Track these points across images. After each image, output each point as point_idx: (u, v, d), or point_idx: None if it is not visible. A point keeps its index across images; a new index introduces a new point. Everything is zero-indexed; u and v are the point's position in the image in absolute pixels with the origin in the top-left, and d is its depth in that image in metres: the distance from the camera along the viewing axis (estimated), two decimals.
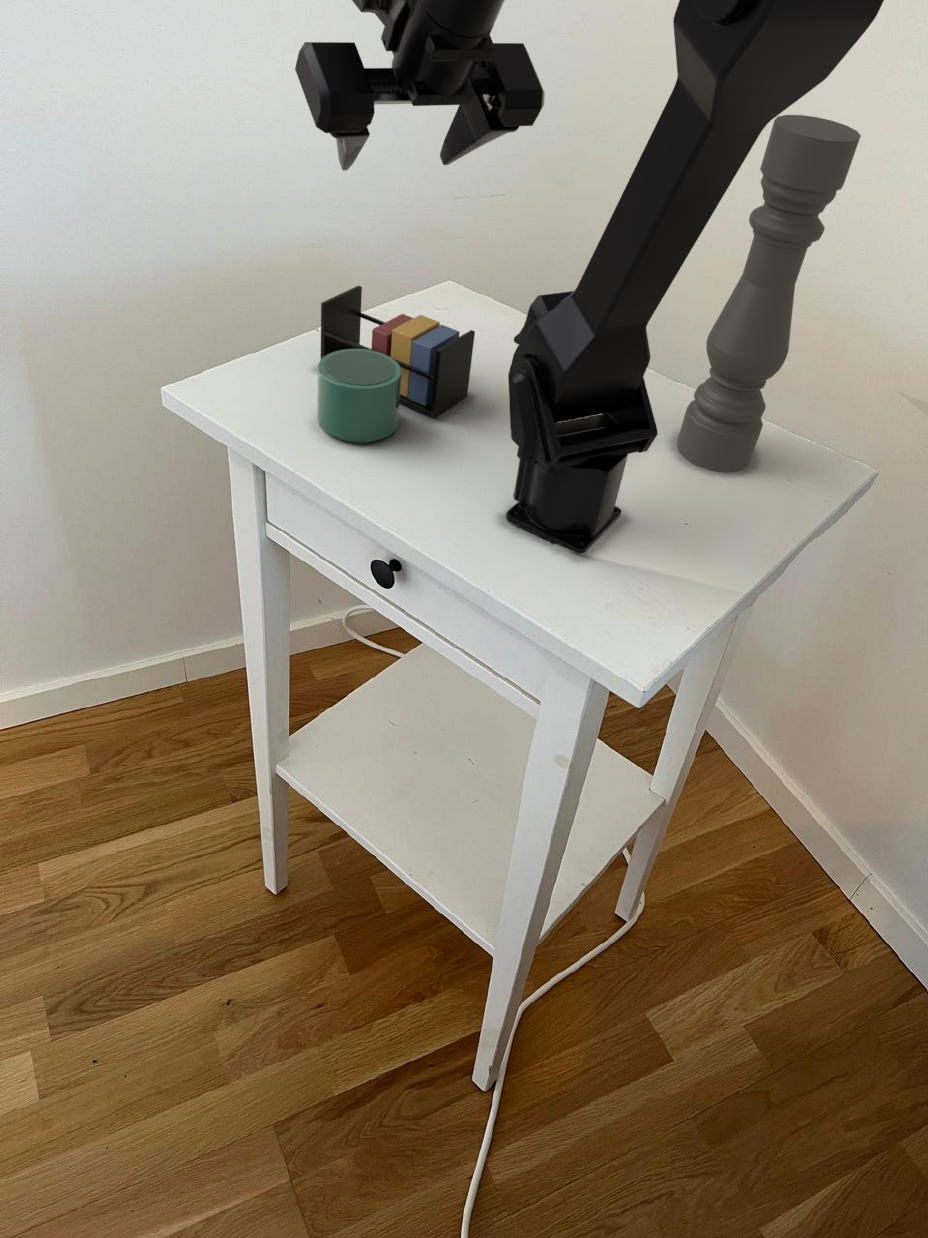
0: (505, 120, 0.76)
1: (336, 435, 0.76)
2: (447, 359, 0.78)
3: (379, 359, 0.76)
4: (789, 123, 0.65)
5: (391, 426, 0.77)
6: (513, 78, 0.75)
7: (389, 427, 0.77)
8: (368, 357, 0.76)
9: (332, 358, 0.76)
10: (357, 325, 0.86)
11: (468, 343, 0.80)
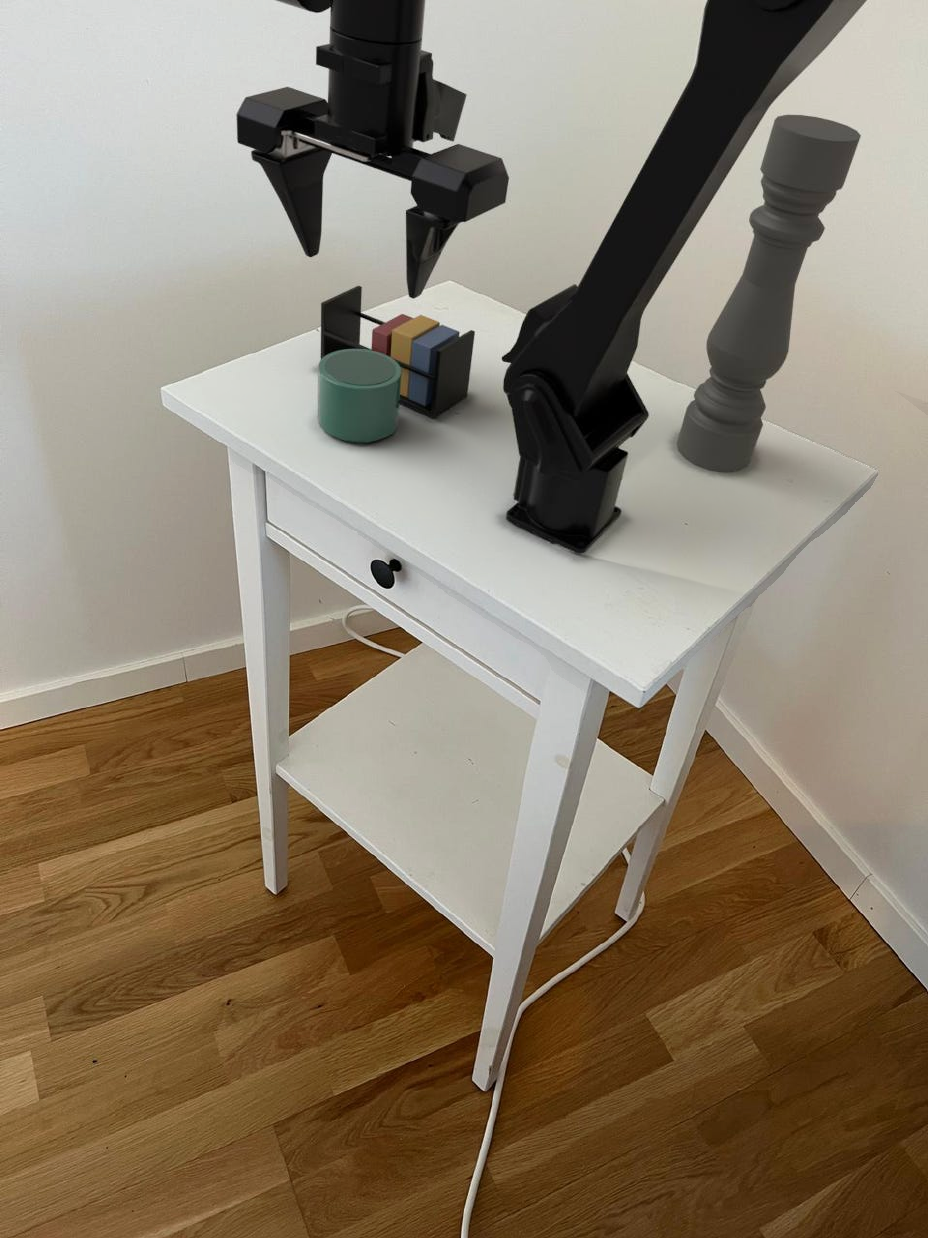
0: (417, 197, 0.62)
1: (336, 435, 0.76)
2: (447, 359, 0.78)
3: (379, 359, 0.76)
4: (789, 123, 0.65)
5: (391, 426, 0.77)
6: (445, 159, 0.61)
7: (389, 427, 0.77)
8: (368, 357, 0.76)
9: (332, 358, 0.76)
10: (357, 325, 0.86)
11: (468, 343, 0.80)
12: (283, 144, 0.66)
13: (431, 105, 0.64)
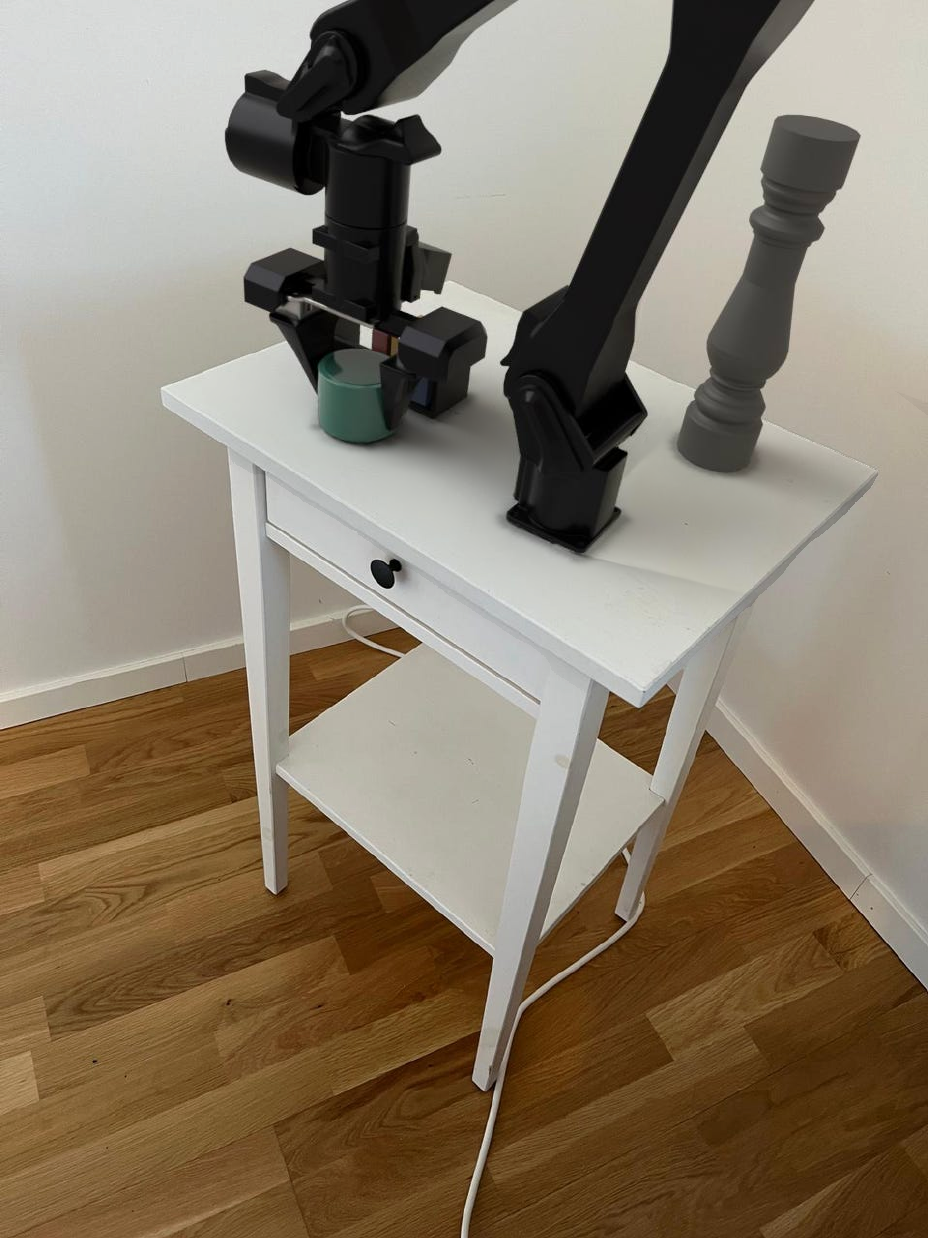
0: (403, 359, 0.68)
1: (336, 435, 0.76)
2: None
3: (379, 359, 0.76)
4: (789, 123, 0.65)
5: None
6: (428, 325, 0.68)
7: None
8: (368, 357, 0.76)
9: (332, 358, 0.76)
10: (357, 325, 0.86)
11: None
12: (297, 309, 0.73)
13: (417, 272, 0.71)
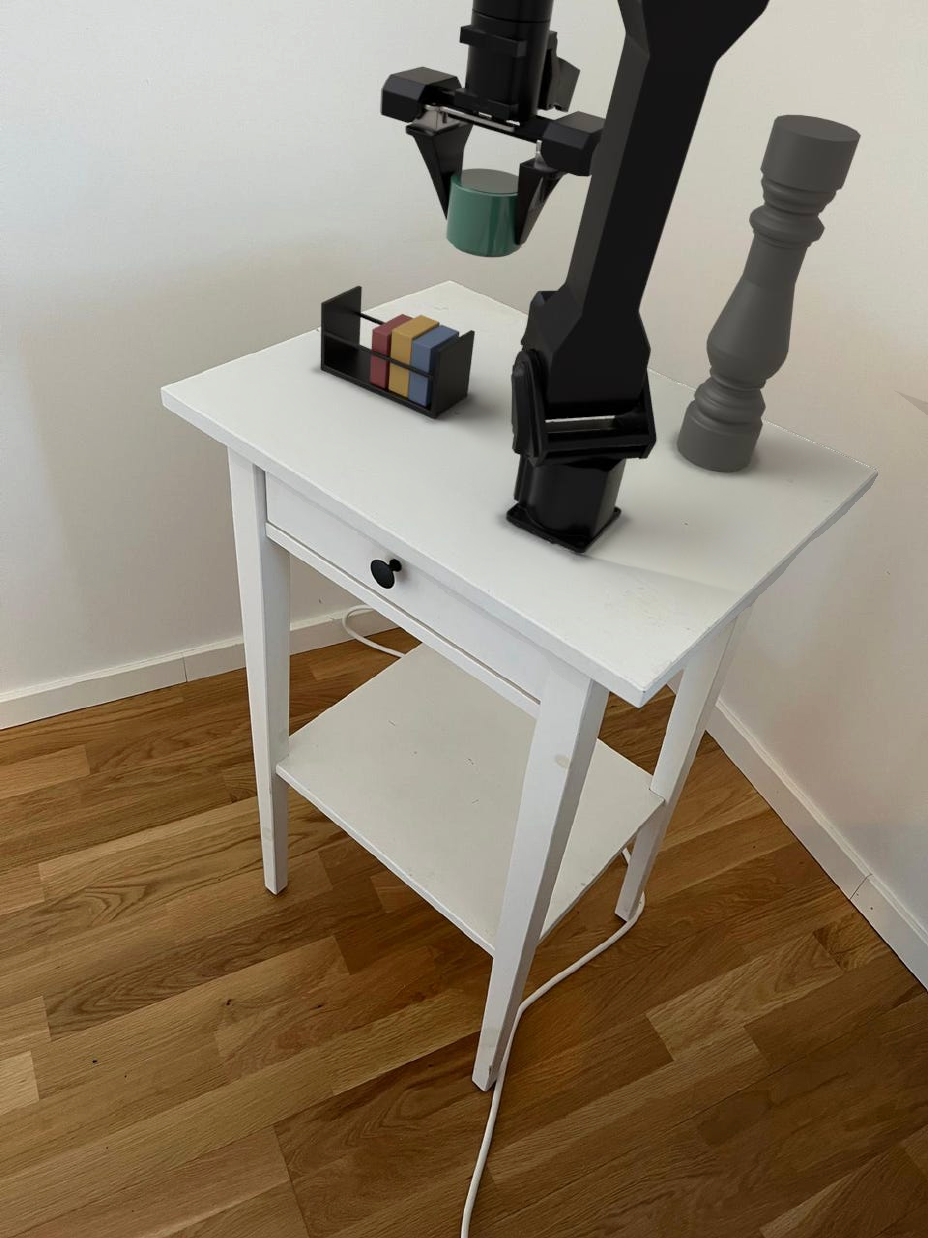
0: (546, 155, 0.71)
1: (467, 248, 0.78)
2: (447, 359, 0.78)
3: (508, 176, 0.79)
4: (789, 123, 0.65)
5: None
6: (570, 122, 0.71)
7: None
8: (497, 174, 0.79)
9: (463, 174, 0.78)
10: (357, 325, 0.86)
11: (468, 343, 0.80)
12: (435, 119, 0.75)
13: (554, 78, 0.73)
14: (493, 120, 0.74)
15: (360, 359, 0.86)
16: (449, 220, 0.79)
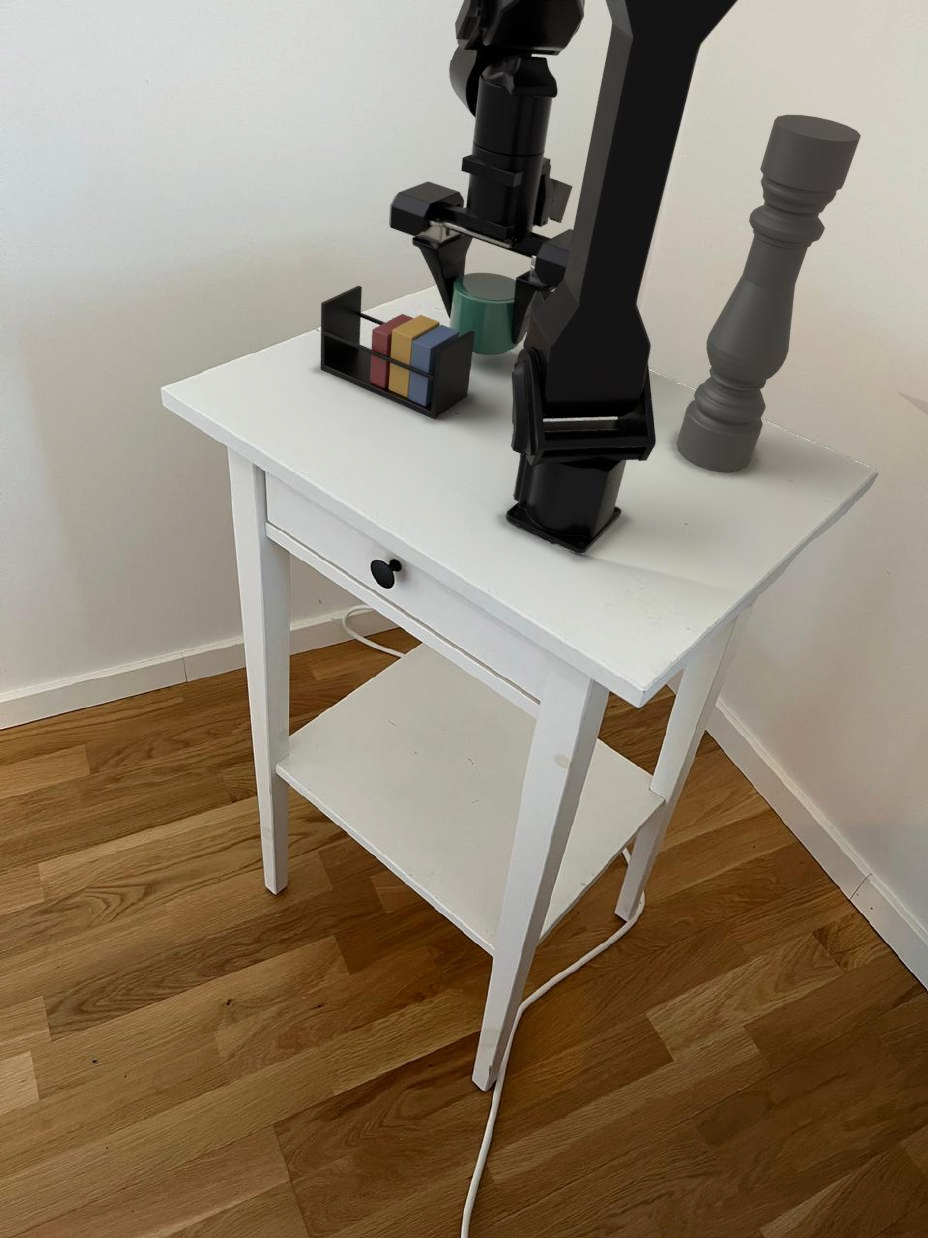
0: (539, 273, 0.78)
1: None
2: (447, 359, 0.78)
3: (506, 281, 0.86)
4: (789, 123, 0.65)
5: None
6: (562, 243, 0.78)
7: None
8: (496, 279, 0.86)
9: (465, 279, 0.86)
10: (357, 325, 0.86)
11: (468, 343, 0.80)
12: (439, 233, 0.82)
13: (548, 198, 0.80)
14: (492, 236, 0.81)
15: (360, 359, 0.86)
16: (452, 321, 0.86)
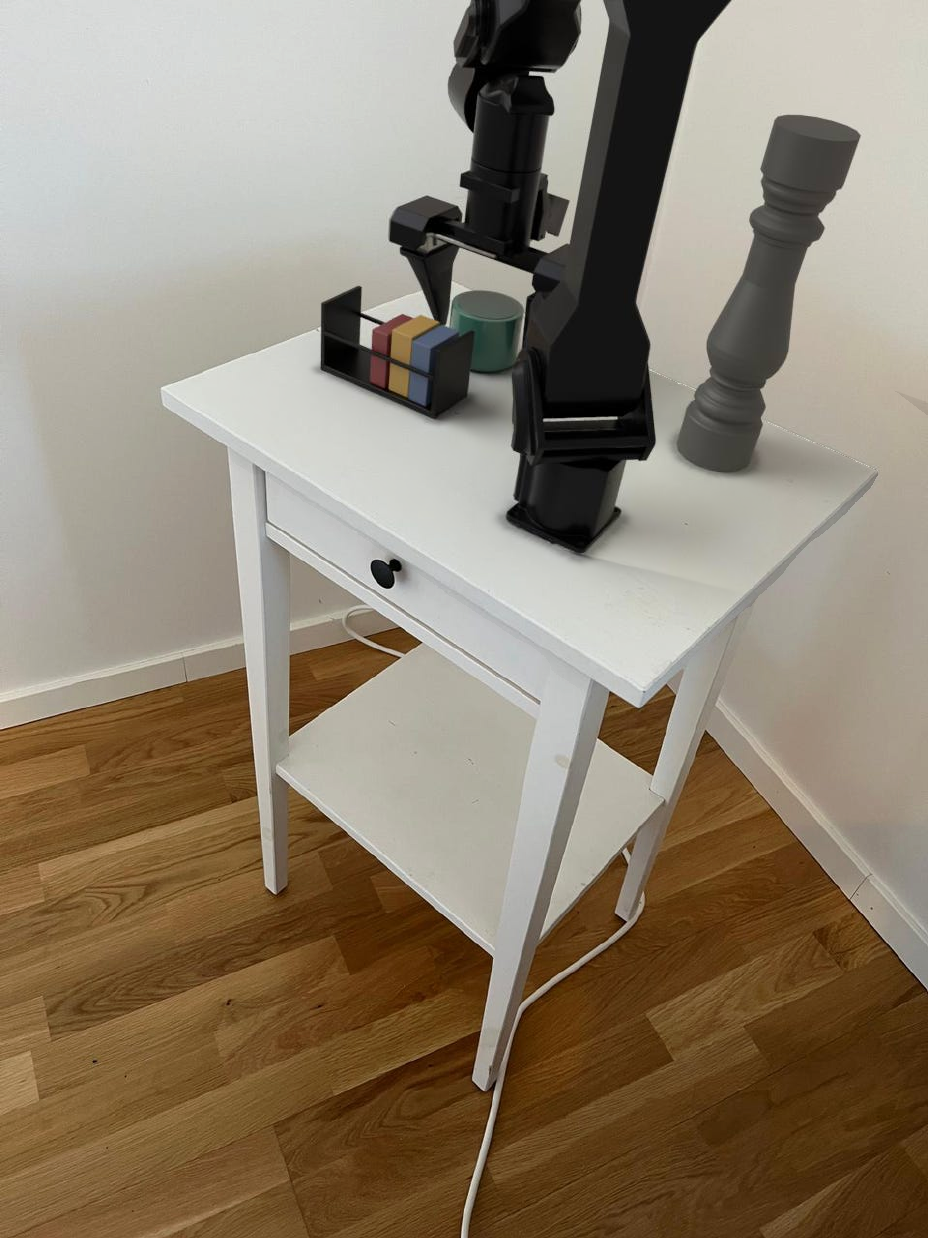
0: (537, 287, 0.79)
1: None
2: (447, 359, 0.78)
3: (503, 299, 0.87)
4: (789, 123, 0.65)
5: (513, 357, 0.88)
6: (559, 258, 0.79)
7: (511, 358, 0.87)
8: (494, 297, 0.87)
9: (463, 297, 0.87)
10: (357, 325, 0.86)
11: (468, 343, 0.80)
12: (426, 243, 0.84)
13: (545, 213, 0.81)
14: (490, 251, 0.82)
15: (360, 359, 0.86)
16: None
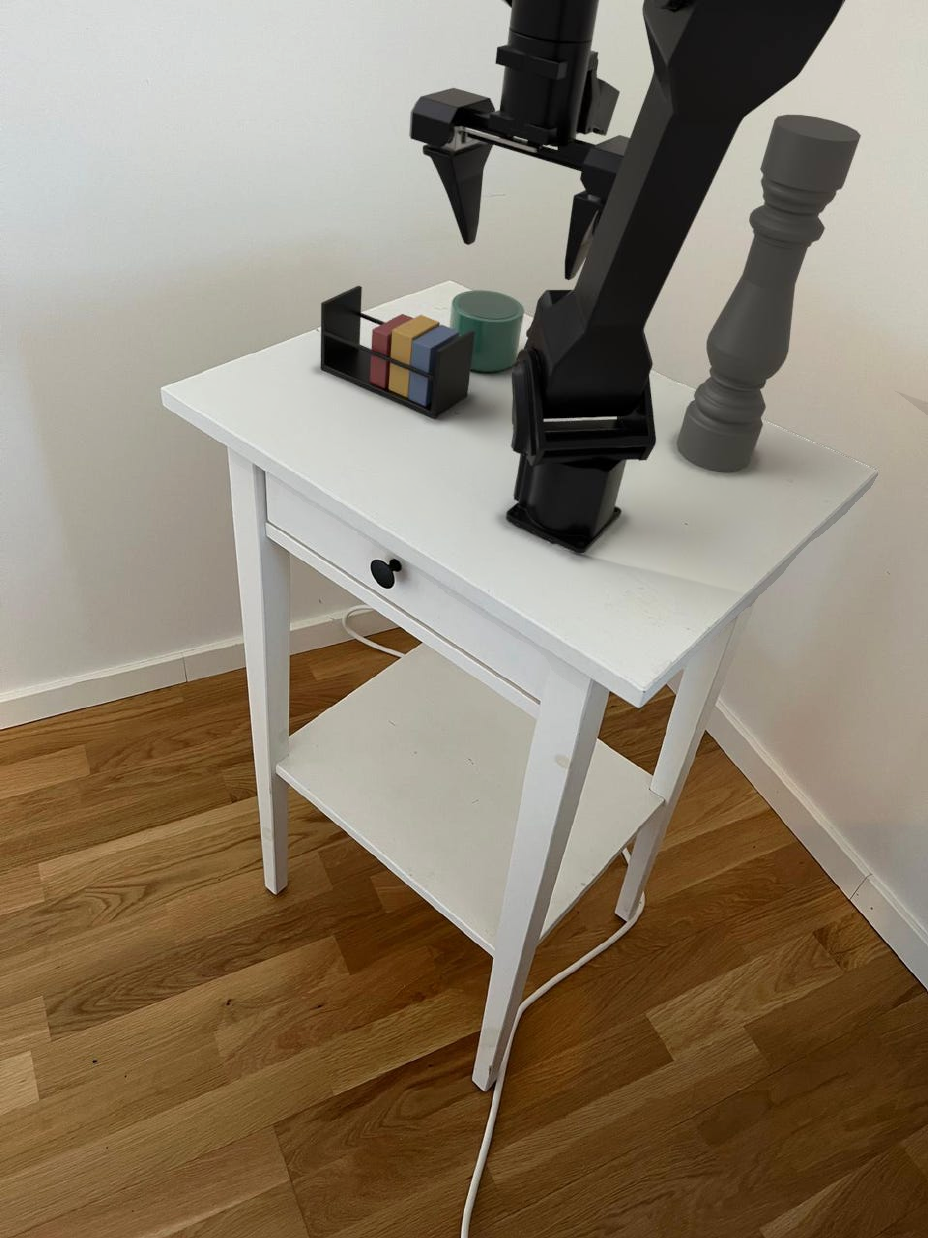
0: (586, 182, 0.67)
1: None
2: (447, 359, 0.78)
3: (503, 299, 0.87)
4: (789, 123, 0.65)
5: (513, 357, 0.88)
6: (613, 147, 0.67)
7: (511, 358, 0.87)
8: (494, 297, 0.87)
9: (463, 297, 0.87)
10: (357, 325, 0.86)
11: (468, 343, 0.80)
12: (454, 139, 0.72)
13: (594, 100, 0.70)
14: (529, 145, 0.70)
15: (360, 359, 0.86)
16: None
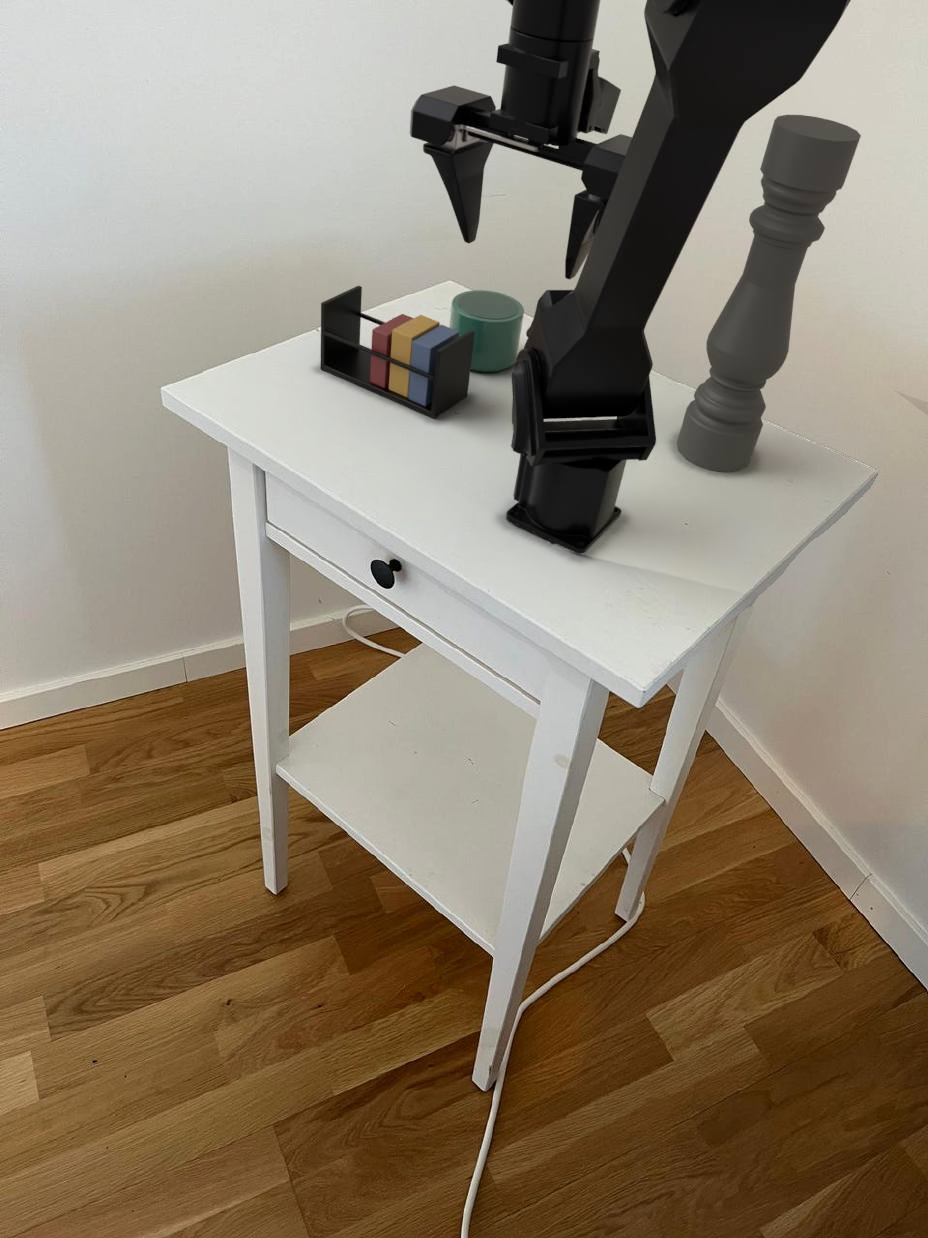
0: (587, 182, 0.67)
1: None
2: (447, 359, 0.78)
3: (503, 299, 0.87)
4: (789, 123, 0.65)
5: (513, 357, 0.88)
6: (614, 147, 0.67)
7: (511, 358, 0.87)
8: (494, 297, 0.87)
9: (463, 297, 0.87)
10: (357, 325, 0.86)
11: (468, 343, 0.80)
12: (454, 137, 0.72)
13: (595, 99, 0.69)
14: (530, 143, 0.70)
15: (360, 359, 0.86)
16: None
